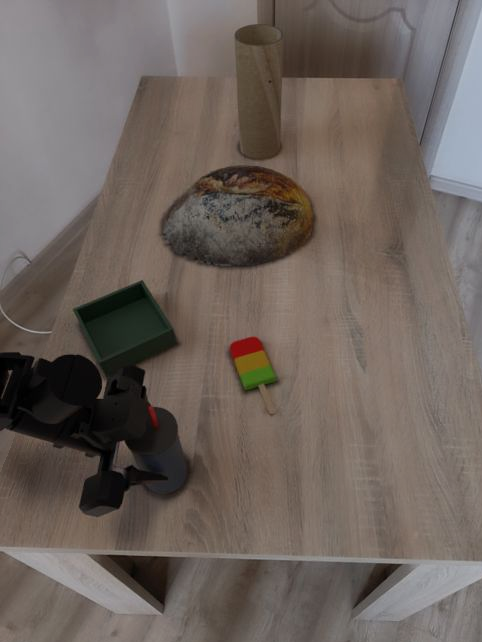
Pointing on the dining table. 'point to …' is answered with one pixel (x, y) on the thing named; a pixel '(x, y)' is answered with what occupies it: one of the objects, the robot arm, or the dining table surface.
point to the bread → (239, 217)
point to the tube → (259, 89)
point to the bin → (125, 327)
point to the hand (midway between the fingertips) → (169, 454)
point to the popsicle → (253, 366)
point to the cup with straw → (160, 450)
